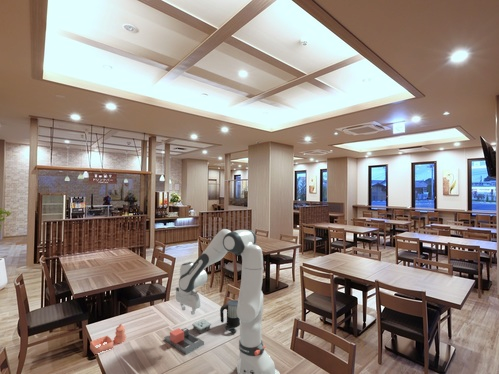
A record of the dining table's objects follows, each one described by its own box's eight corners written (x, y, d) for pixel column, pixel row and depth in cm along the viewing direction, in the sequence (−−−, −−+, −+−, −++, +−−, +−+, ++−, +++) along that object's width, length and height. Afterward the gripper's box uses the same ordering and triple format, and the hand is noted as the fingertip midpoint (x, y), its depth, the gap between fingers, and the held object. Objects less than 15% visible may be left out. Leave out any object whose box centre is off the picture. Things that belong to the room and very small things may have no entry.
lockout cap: (184, 339, 155) (184, 331, 155) (175, 343, 150) (175, 335, 150) (178, 335, 159) (178, 328, 159) (169, 339, 154) (169, 332, 154)
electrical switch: (200, 329, 162) (192, 321, 168) (199, 336, 162) (191, 328, 169) (212, 323, 169) (203, 316, 175) (210, 331, 169) (202, 323, 176)
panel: (204, 344, 152) (204, 340, 153) (185, 354, 143) (185, 350, 143) (182, 331, 167) (182, 327, 167) (164, 339, 157) (164, 336, 157)
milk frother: (236, 319, 182) (236, 298, 183) (247, 330, 169) (247, 307, 169) (218, 325, 175) (218, 303, 175) (228, 336, 161) (228, 312, 162)
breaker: (188, 334, 160) (188, 329, 160) (184, 336, 158) (184, 331, 158) (185, 332, 162) (185, 327, 162) (181, 334, 160) (181, 329, 160)
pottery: (95, 356, 141) (96, 338, 141) (90, 349, 147) (90, 331, 148) (129, 342, 154) (129, 325, 155) (122, 336, 161) (122, 320, 161)
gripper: (202, 291, 153) (203, 314, 152) (182, 284, 166) (182, 306, 166) (194, 294, 148) (194, 318, 148) (173, 287, 161) (174, 309, 161)
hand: (188, 312), depth 157 cm, fingers open, 8 cm apart
